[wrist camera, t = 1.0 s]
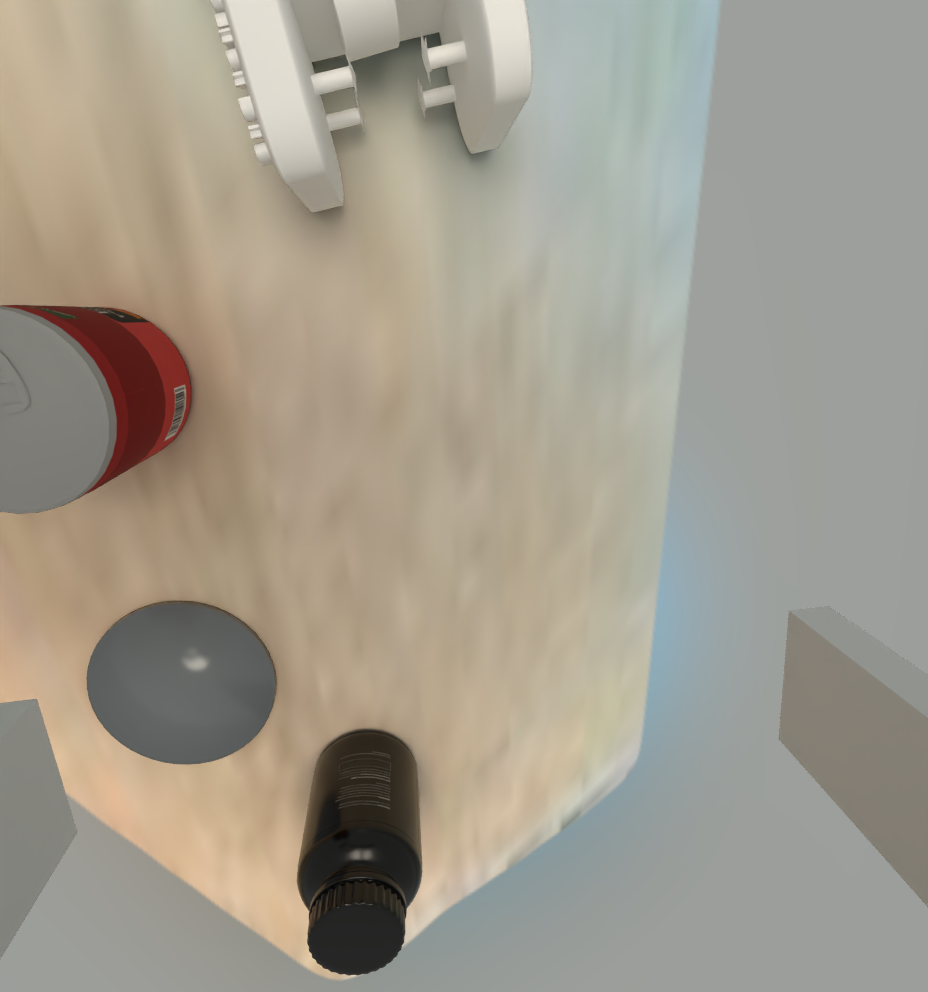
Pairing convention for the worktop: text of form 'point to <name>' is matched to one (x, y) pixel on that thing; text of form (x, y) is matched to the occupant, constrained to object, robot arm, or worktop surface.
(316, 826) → the supplement bottle
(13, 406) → the canned food
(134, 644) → the coaster
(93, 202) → the worktop surface
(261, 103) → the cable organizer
